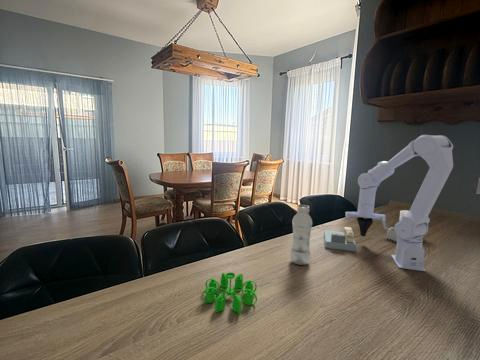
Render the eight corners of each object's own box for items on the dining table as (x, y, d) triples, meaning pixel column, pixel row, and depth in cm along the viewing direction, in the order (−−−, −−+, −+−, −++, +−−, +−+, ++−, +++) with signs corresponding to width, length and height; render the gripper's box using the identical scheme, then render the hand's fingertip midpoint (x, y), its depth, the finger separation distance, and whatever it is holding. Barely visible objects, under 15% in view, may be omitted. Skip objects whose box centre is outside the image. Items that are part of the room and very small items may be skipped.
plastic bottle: (310, 268, 86) (315, 209, 82) (289, 266, 87) (293, 208, 84) (309, 259, 92) (313, 204, 88) (289, 257, 93) (293, 203, 90)
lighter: (397, 240, 111) (400, 222, 109) (395, 241, 110) (398, 223, 109) (381, 235, 117) (383, 218, 115) (379, 235, 116) (381, 218, 115)
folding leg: (353, 242, 101) (354, 234, 100) (346, 241, 101) (347, 233, 101) (350, 234, 109) (351, 226, 109) (343, 233, 110) (344, 226, 109)
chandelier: (244, 326, 60) (245, 298, 58) (189, 306, 66) (189, 281, 65) (266, 291, 73) (267, 268, 72) (219, 278, 79) (219, 256, 78)
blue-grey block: (355, 251, 99) (356, 237, 99) (325, 247, 102) (326, 234, 101) (350, 238, 112) (352, 226, 111) (323, 235, 115) (324, 223, 114)
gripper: (382, 201, 107) (378, 233, 109) (345, 199, 109) (342, 230, 112) (388, 206, 100) (384, 240, 102) (348, 203, 103) (345, 236, 105)
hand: (362, 235), depth 107 cm, fingers closed
